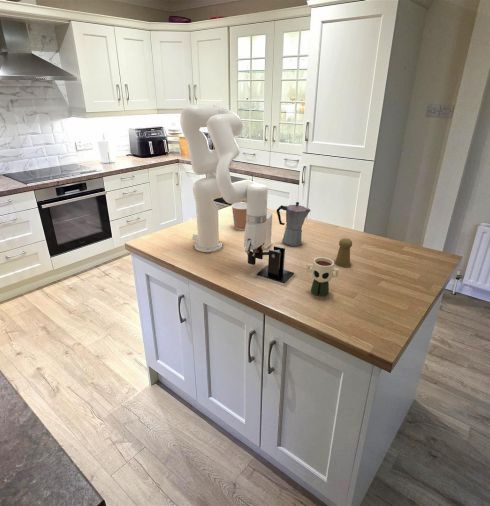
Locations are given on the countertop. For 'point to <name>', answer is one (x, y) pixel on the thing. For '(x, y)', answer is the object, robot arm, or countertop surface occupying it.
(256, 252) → the switch lever
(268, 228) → the milk carton
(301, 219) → the moka pot
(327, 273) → the character mug
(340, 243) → the olive pepper mill
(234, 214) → the coffee cup
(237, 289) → the countertop surface
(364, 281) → the countertop surface
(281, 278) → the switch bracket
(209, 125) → the robot arm
